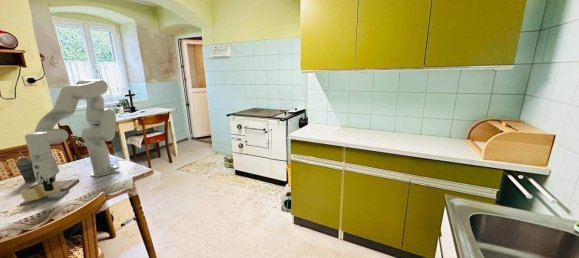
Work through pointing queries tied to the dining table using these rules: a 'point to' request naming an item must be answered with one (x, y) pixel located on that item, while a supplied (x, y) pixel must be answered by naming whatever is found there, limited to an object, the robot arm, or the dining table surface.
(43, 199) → the mat
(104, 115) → the robot arm
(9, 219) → the dining table surface
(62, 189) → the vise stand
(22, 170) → the beverage cup
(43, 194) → the beige block
